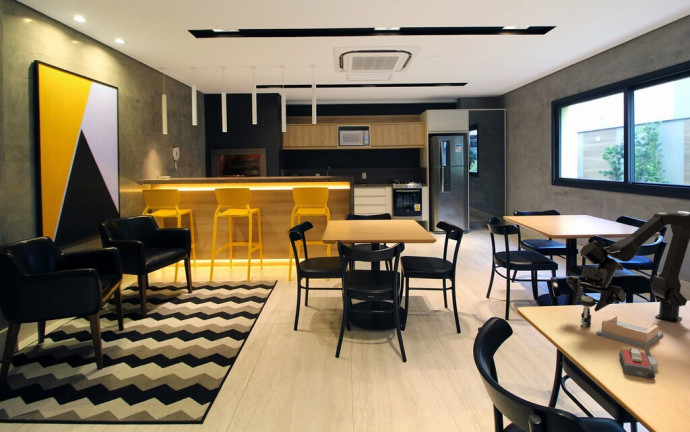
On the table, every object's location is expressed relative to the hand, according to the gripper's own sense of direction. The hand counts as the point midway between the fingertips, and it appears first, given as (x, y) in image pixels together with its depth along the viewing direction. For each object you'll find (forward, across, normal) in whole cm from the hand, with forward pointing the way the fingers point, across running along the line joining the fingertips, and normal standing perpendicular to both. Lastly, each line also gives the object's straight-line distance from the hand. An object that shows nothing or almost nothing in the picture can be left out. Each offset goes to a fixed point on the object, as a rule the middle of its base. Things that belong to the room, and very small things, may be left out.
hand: (584, 307), depth 148 cm
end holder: (+1, +13, +8) cm, 15 cm away
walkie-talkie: (+15, +25, -5) cm, 30 cm away
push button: (+4, 0, +6) cm, 7 cm away
